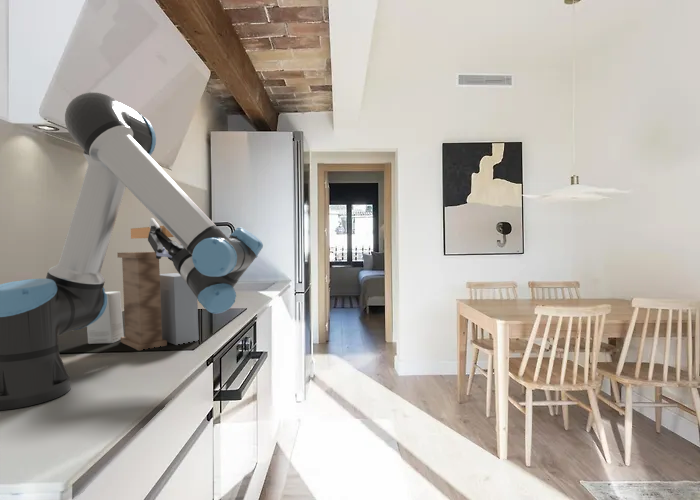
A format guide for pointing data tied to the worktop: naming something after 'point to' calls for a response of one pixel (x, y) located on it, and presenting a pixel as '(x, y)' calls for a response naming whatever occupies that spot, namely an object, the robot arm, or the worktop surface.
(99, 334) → the skincare box
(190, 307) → the slate block
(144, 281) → the walnut shelf stand
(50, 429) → the worktop surface
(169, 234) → the orange blank
